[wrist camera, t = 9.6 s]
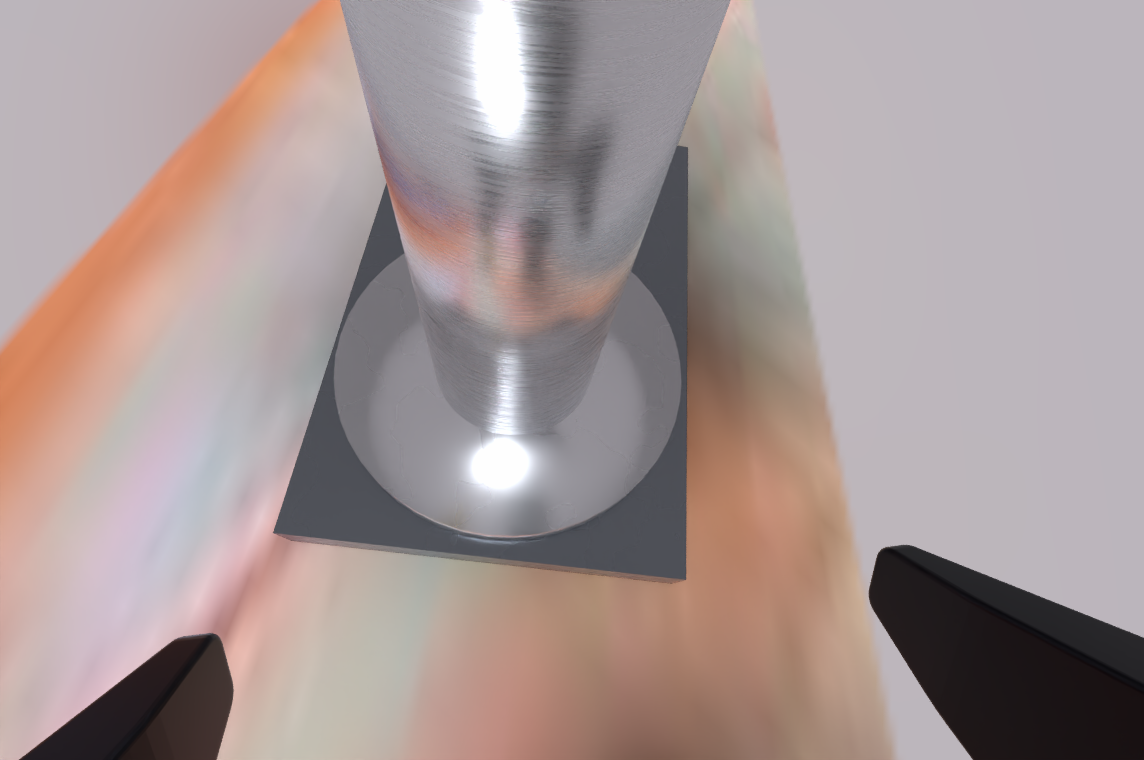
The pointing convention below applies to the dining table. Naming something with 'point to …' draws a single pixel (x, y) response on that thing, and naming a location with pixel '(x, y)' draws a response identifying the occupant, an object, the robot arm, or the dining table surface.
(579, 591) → the dining table surface
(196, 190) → the dining table surface
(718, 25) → the silver metal bottle
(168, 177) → the dining table surface
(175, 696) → the robot arm
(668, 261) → the stand
